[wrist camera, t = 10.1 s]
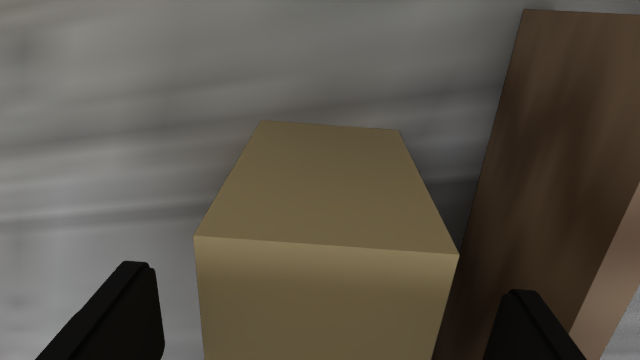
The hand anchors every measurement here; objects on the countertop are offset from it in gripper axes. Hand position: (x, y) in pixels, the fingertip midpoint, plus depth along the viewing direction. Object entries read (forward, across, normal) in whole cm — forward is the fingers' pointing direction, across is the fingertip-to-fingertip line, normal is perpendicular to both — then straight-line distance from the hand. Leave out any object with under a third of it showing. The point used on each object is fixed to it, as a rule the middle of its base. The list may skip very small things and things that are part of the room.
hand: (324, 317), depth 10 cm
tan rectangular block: (+8, 0, -1) cm, 8 cm away
